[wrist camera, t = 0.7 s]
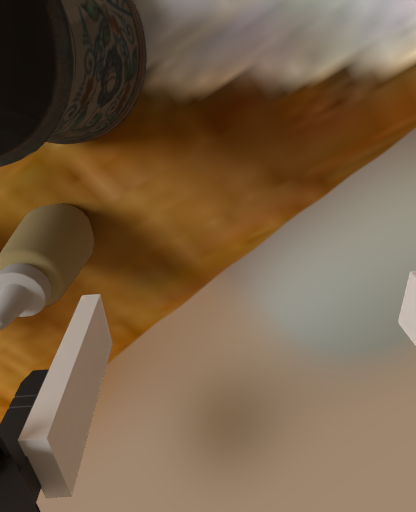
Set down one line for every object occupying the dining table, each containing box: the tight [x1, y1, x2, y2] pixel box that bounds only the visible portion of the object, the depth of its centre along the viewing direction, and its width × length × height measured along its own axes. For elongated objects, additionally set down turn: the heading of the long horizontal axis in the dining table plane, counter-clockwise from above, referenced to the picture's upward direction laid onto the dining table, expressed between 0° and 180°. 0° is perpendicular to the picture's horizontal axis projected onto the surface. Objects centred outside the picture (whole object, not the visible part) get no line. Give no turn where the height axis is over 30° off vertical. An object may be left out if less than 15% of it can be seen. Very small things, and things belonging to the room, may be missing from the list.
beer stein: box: [0, 0, 146, 167], centre depth 24 cm, size 16×19×25 cm
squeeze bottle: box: [0, 204, 94, 329], centre depth 36 cm, size 8×8×18 cm
